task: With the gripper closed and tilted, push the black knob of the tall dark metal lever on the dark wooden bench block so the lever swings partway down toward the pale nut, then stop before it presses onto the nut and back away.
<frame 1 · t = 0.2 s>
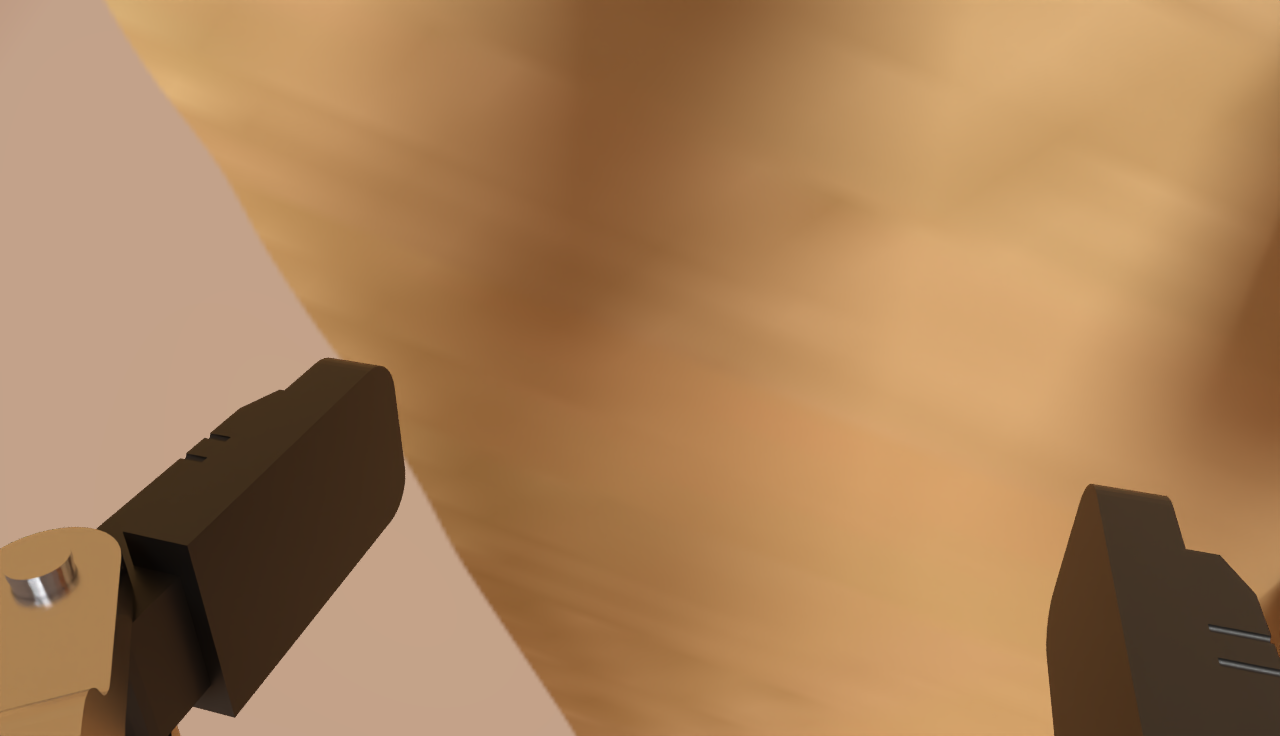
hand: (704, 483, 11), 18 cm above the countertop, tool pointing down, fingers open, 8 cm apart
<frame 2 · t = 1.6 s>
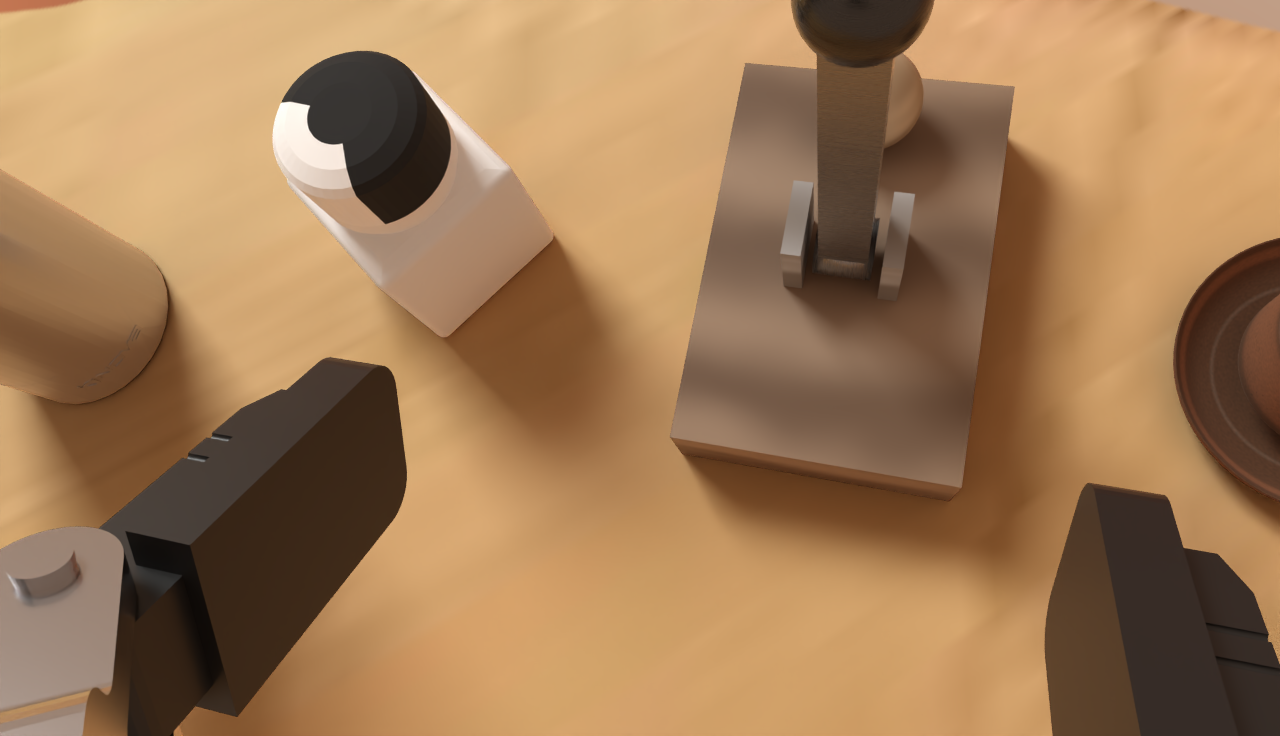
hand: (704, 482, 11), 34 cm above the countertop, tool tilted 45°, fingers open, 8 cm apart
lever: (852, 147, 33), point 14 cm above the countertop, hinge at 0.0°
container: (457, 242, 51), on the countertop
bench block: (843, 289, 47), on the countertop
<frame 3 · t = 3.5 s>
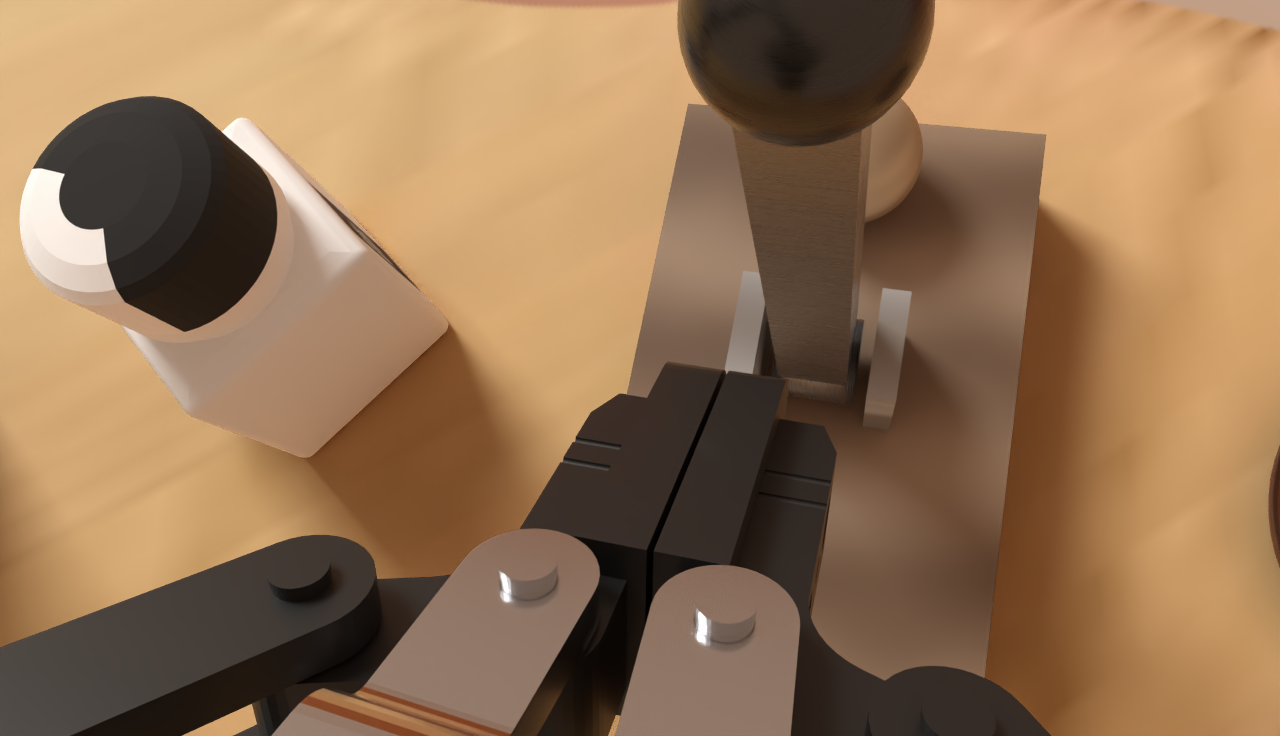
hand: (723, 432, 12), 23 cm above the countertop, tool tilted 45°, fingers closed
lever: (813, 244, 22), point 14 cm above the countertop, hinge at 0.0°
container: (329, 331, 40), on the countertop
bench block: (820, 400, 35), on the countertop
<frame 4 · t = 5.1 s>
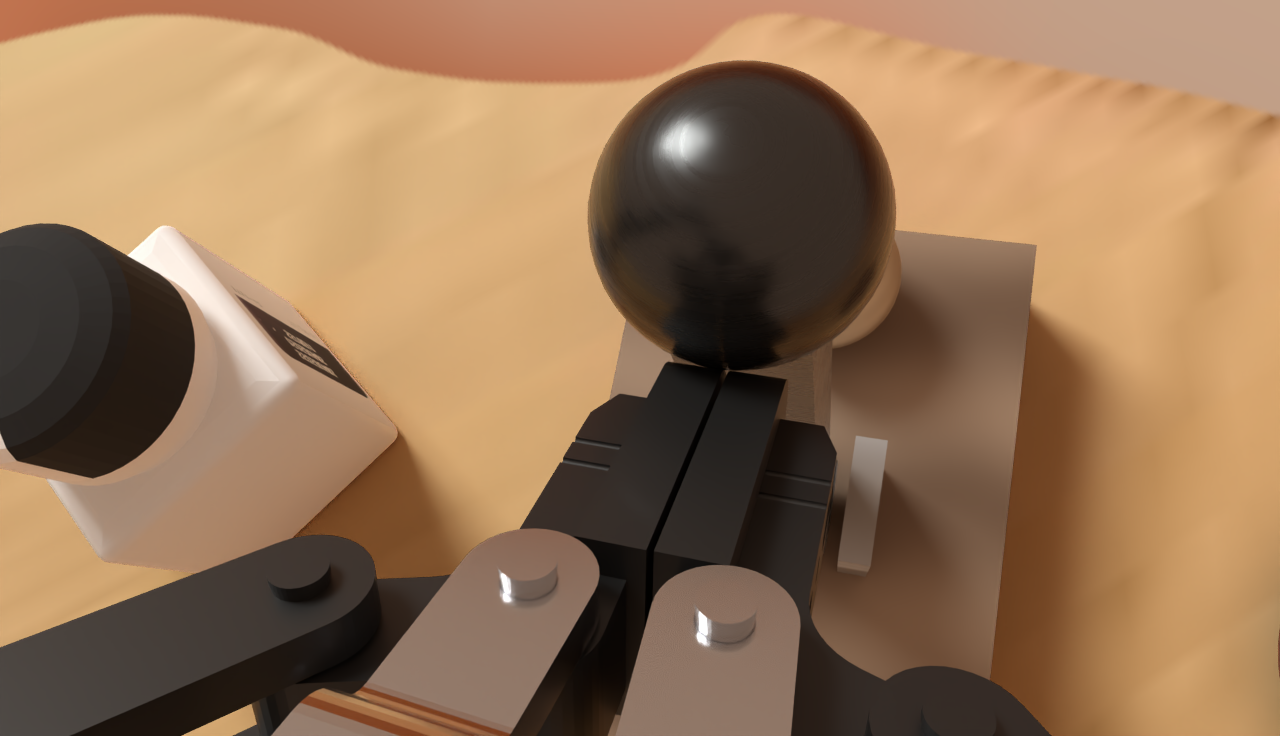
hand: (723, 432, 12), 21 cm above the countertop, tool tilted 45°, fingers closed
lever: (772, 412, 19), point 14 cm above the countertop, hinge at 3.1°
container: (272, 436, 37), on the countertop
bench block: (794, 523, 33), on the countertop
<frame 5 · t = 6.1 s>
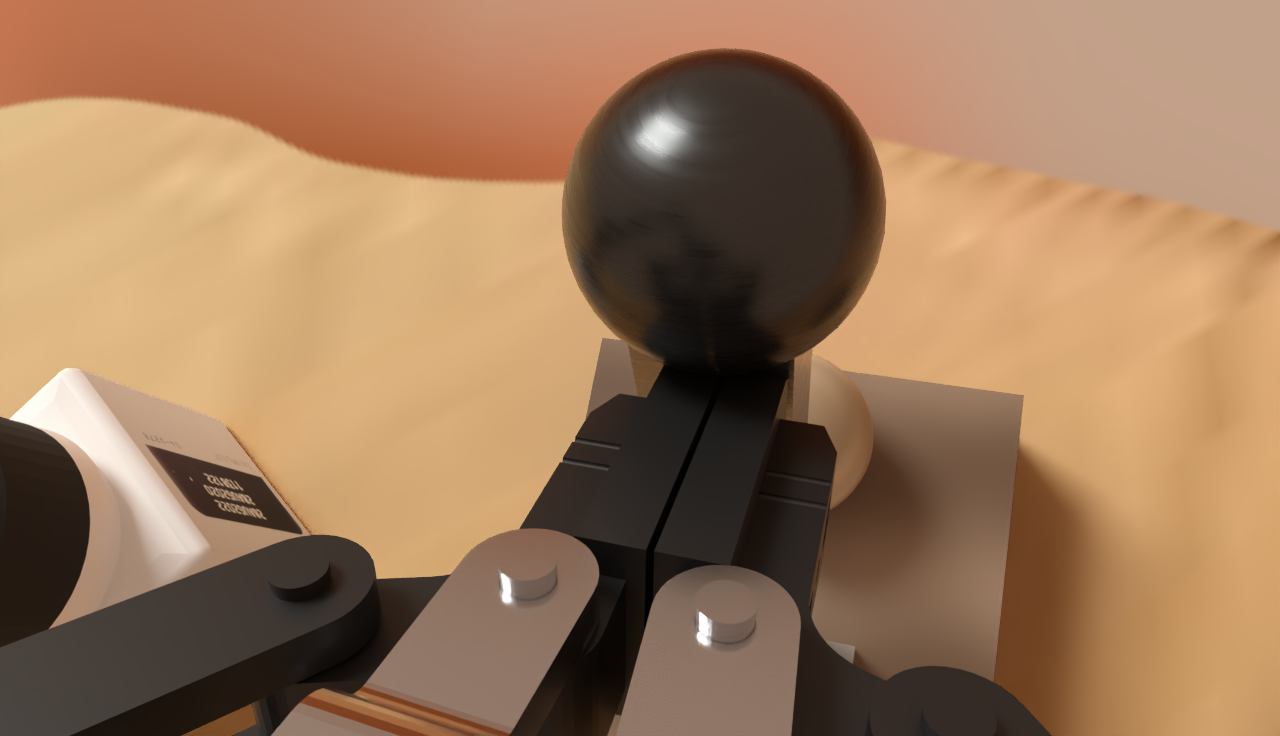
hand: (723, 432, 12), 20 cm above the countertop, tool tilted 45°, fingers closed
lever: (739, 538, 18), point 14 cm above the countertop, hinge at 20.6°, touching gripper
container: (202, 569, 35), on the countertop
bench block: (761, 682, 30), on the countertop
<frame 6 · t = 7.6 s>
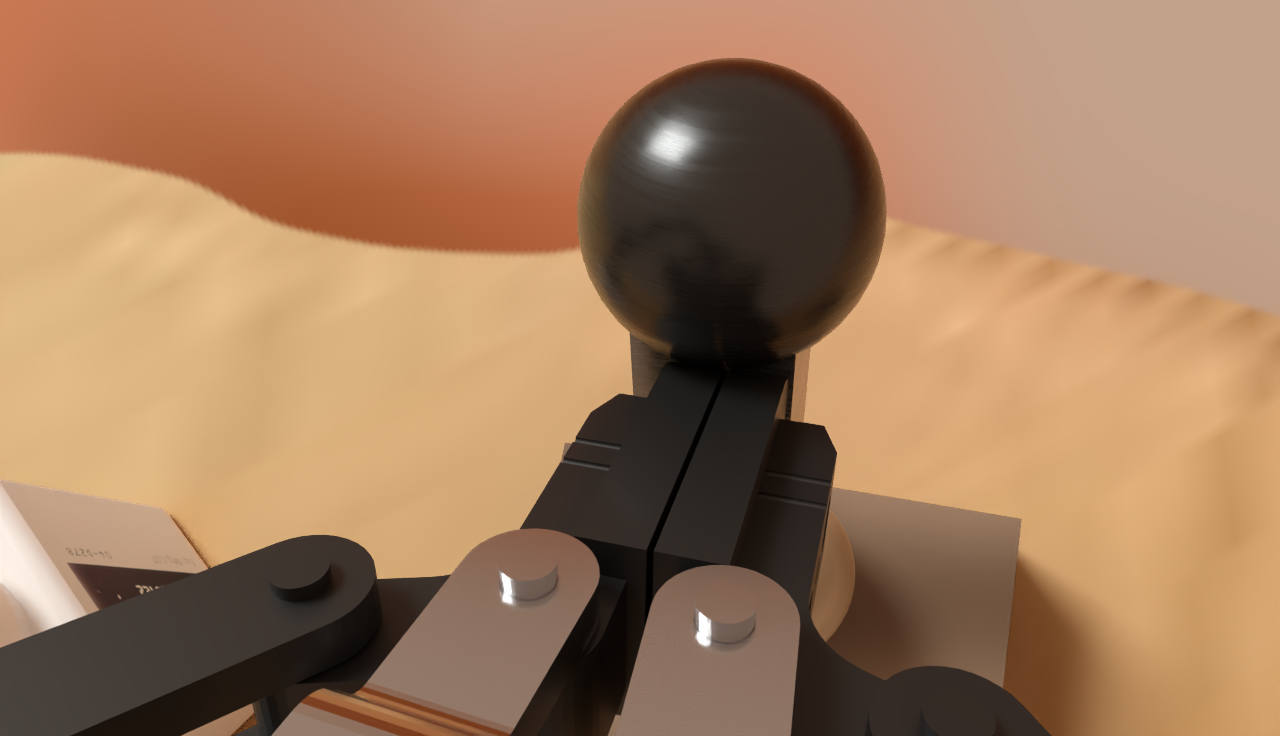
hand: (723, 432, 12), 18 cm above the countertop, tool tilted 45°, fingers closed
lever: (720, 630, 17), point 13 cm above the countertop, hinge at 35.8°, touching gripper
container: (144, 671, 33), on the countertop
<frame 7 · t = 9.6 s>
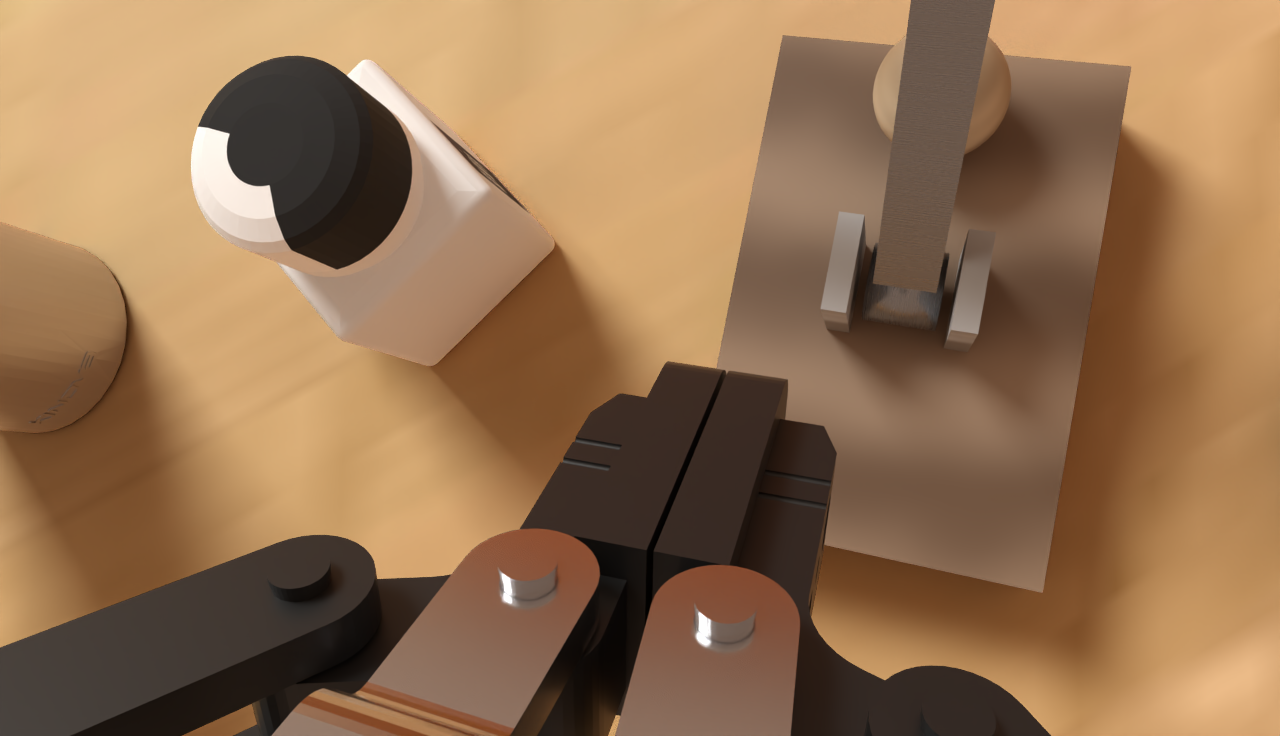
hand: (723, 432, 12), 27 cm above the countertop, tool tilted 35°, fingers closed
lever: (945, 46, 27), point 13 cm above the countertop, hinge at 36.0°
container: (444, 248, 44), on the countertop
bench block: (901, 316, 38), on the countertop
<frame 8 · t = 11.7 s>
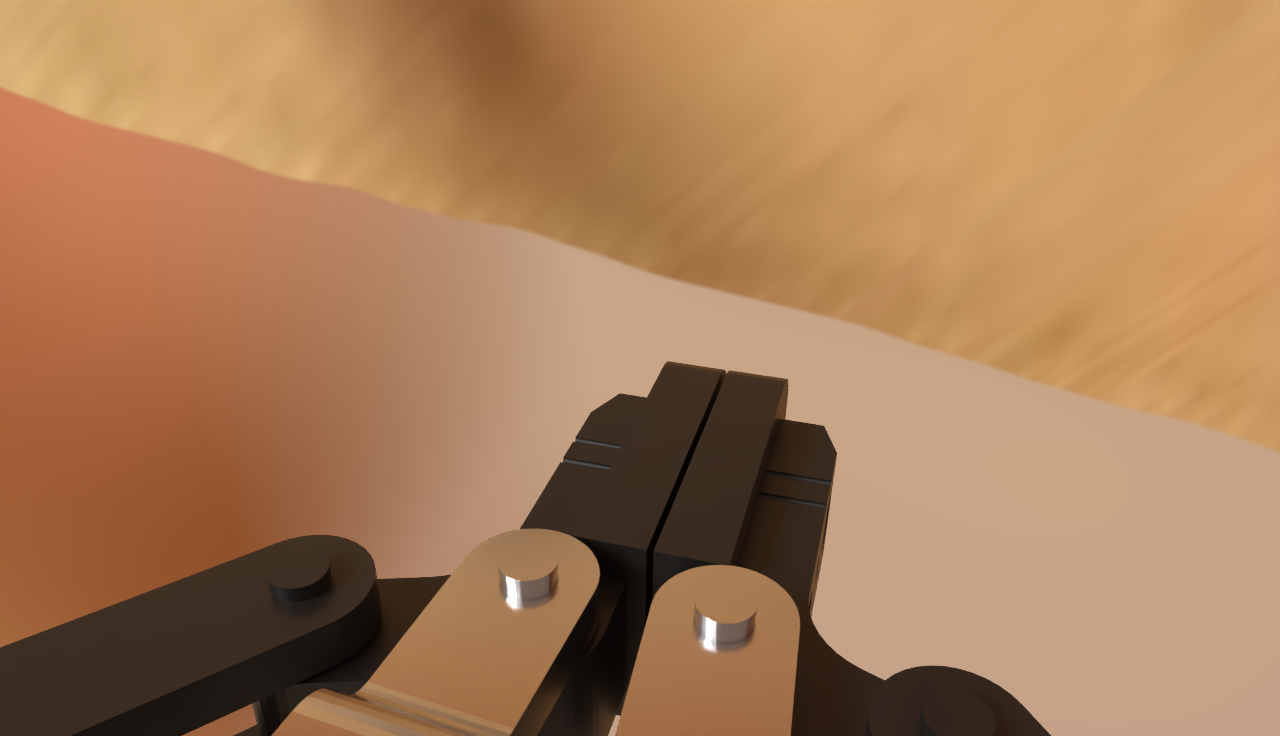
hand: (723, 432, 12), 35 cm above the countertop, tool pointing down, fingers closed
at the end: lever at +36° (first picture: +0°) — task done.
